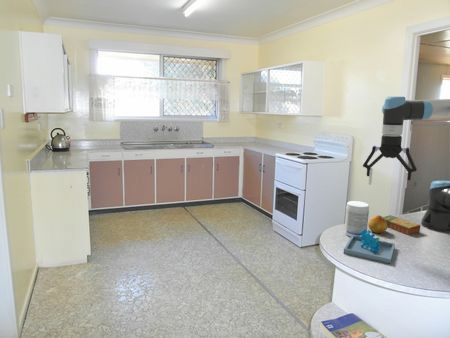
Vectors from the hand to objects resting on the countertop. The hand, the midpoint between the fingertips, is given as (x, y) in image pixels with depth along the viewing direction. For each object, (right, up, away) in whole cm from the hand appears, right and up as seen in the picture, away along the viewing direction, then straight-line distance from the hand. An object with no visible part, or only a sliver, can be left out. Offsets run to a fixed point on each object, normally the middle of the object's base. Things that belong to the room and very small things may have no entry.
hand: (387, 185), depth 149 cm
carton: (+16, -22, +22) cm, 35 cm away
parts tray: (-9, -26, -4) cm, 28 cm away
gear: (-9, -26, -4) cm, 28 cm away
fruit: (+3, -22, +18) cm, 29 cm away
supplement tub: (-9, -23, +13) cm, 28 cm away
